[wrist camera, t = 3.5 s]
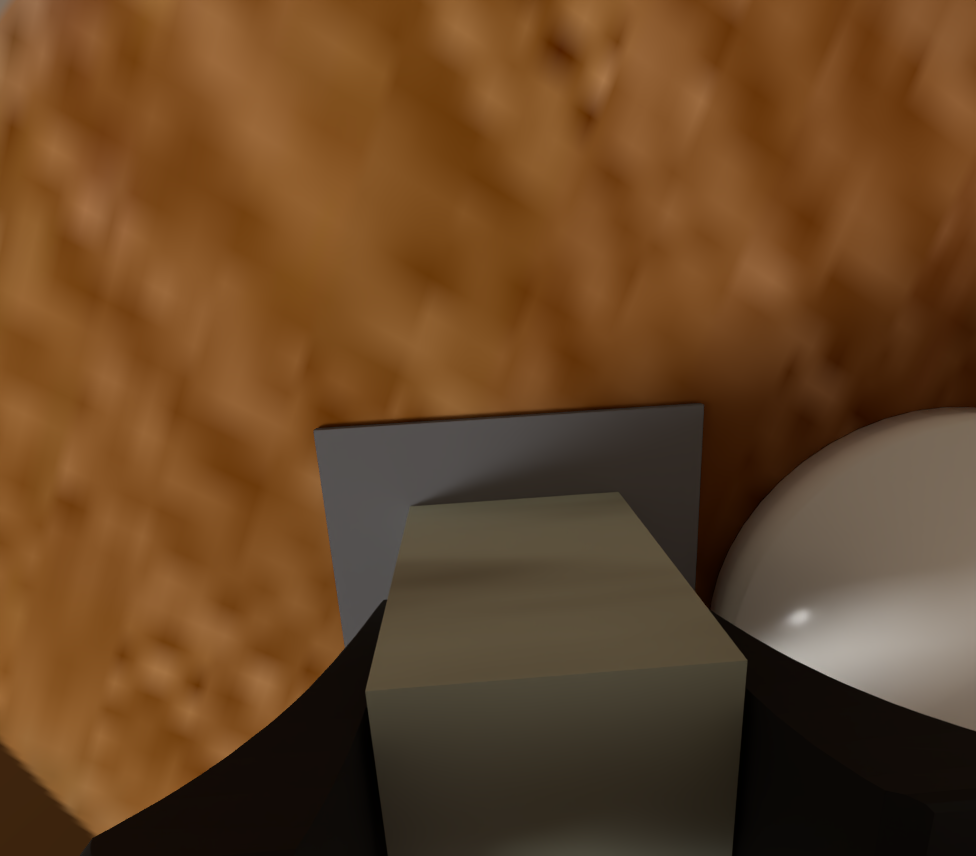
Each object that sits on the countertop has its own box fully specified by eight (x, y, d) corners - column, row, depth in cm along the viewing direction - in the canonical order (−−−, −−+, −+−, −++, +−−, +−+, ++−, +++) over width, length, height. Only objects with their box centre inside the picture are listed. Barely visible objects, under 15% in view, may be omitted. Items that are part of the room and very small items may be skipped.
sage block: (617, 668, 14) (725, 935, 8) (427, 683, 14) (403, 965, 8) (618, 491, 13) (747, 660, 7) (410, 506, 13) (365, 691, 7)
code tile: (685, 718, 15) (688, 724, 15) (361, 745, 15) (360, 751, 14) (700, 402, 13) (704, 405, 12) (315, 428, 12) (313, 431, 12)
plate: (1064, 755, 16) (1111, 792, 15) (699, 787, 16) (718, 827, 14) (1163, 392, 13) (1231, 402, 12) (719, 422, 13) (746, 435, 12)
